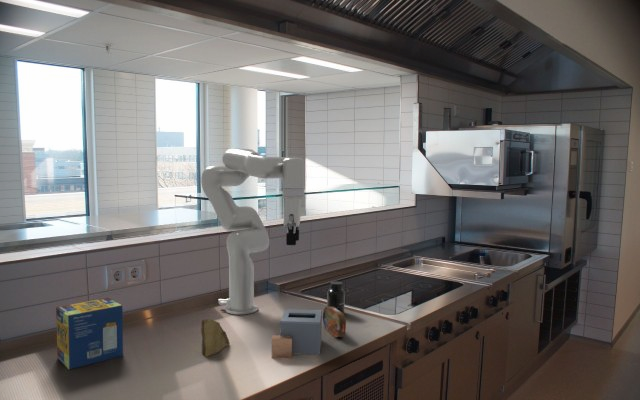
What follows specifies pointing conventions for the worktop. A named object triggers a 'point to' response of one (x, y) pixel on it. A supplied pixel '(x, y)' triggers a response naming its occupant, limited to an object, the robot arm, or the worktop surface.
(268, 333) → the worktop surface
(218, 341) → the rock
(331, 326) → the tin
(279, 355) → the brown wooden square slab
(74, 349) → the protein box
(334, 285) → the supplement bottle
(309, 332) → the blue-grey block with hole
